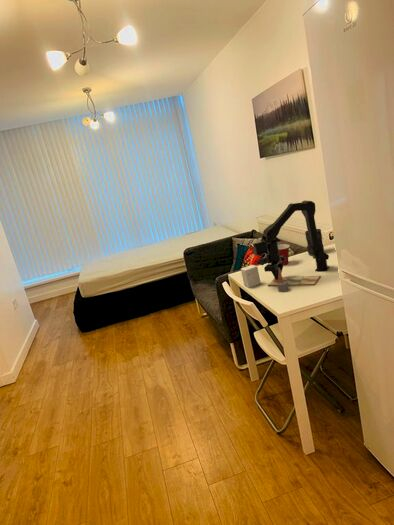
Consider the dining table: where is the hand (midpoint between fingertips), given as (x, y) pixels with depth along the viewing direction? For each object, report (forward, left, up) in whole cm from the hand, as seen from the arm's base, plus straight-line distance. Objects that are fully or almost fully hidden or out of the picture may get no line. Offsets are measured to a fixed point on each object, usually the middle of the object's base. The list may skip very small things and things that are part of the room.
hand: (278, 278), depth 212 cm
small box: (+3, -15, -3) cm, 15 cm away
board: (0, +8, -2) cm, 9 cm away
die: (+12, +7, -2) cm, 14 cm away
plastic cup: (-31, -8, -3) cm, 32 cm away
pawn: (0, 0, -2) cm, 2 cm away
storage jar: (-50, +8, -3) cm, 50 cm away
